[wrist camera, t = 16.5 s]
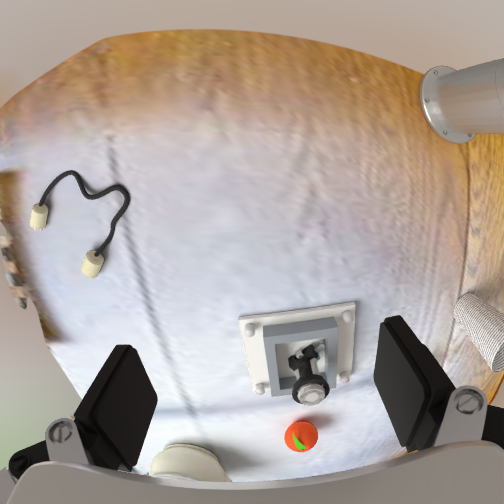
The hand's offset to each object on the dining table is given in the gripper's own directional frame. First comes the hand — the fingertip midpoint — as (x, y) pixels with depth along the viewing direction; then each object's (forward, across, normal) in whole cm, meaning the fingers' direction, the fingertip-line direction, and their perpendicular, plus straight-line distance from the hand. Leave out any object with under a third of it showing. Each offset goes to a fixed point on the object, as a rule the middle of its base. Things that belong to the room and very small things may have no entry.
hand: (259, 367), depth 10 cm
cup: (+31, -37, +22) cm, 53 cm away
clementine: (+31, -3, +45) cm, 54 cm away
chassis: (+30, -4, +24) cm, 39 cm away
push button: (+30, -5, +24) cm, 38 cm away
